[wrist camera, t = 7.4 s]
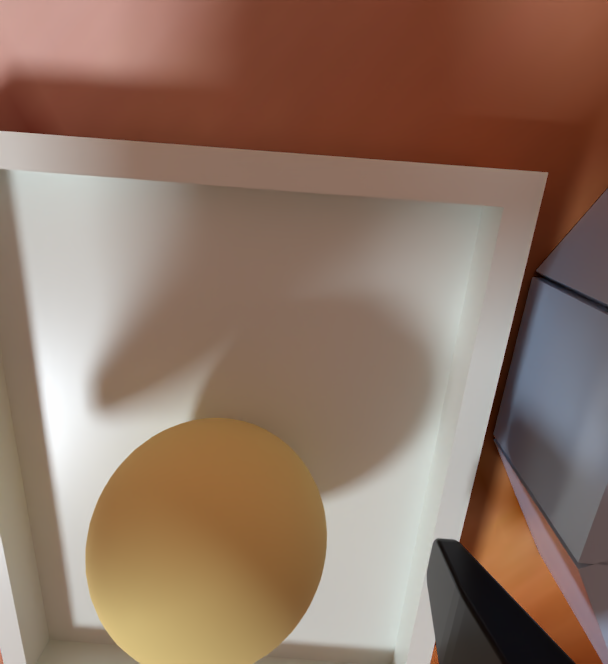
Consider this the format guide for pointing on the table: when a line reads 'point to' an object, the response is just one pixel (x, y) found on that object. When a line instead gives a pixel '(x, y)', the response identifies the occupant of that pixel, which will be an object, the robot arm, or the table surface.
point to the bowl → (565, 419)
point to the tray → (249, 359)
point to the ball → (206, 545)
